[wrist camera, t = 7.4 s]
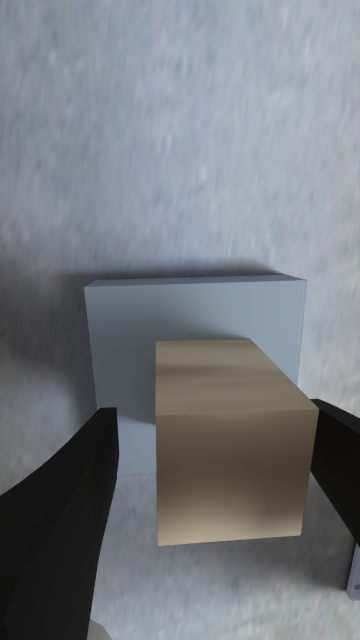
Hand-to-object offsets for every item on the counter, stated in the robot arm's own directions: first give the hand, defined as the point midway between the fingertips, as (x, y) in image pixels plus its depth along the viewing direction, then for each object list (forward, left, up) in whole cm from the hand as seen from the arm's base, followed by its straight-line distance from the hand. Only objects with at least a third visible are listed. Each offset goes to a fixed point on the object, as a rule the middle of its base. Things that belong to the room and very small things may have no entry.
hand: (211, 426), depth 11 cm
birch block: (0, 0, -3) cm, 3 cm away
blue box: (0, 0, -6) cm, 6 cm away
